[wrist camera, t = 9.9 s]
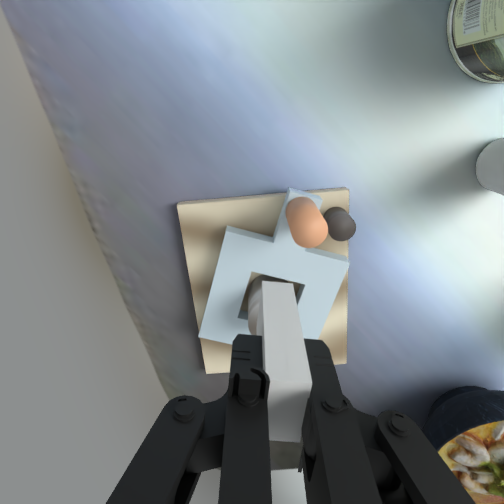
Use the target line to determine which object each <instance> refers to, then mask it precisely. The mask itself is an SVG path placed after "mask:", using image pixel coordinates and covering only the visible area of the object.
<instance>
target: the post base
mask: <svg viewBox="0 0 504 504" xmlns="http://www.w3.org/2000/svg"><path fill="white" fill-rule="evenodd" d="M304 192H307V193H311V194H315V195H318V196H320V197H321V198H322V200H323V202H322V204H321V207H320V210H319V211H320V213H321V214H322V216H323V218H324V219H325V221H326V223H327V225H328V234H327V237H326V239H325V240H324V241H323V242H322V243H321V244H320V245H318V246H316V247H313V248H317V249H321V250H325V251H328V252H332V253H336V254H340V255H344V256H346V257H347V259H348V239H350V238H351V237H352V236H353V235H354V233H355V230H356V224H355V222H354V220H353V219H352V218H351V217H350V215H349V190H348V189H347V188H346V187H343V188H331V189H320V190H308V191H304ZM286 194H287V192H286V193H274V194H263V195H251V196H240V197H229V198H217V199H206V200H195V201H183V202H179V203H178V204H177V209H178V215H179V221H180V226H181V232H182V238H183V244H184V249H185V255H186V261H187V266H188V272H189V278H190V284H191V289H192V295H193V301H194V306H195V312H196V318H197V324H198V329H199V331H200V327H201V323H202V319H203V316H204V312H205V308H206V304H207V300H208V296H209V293H210V289H211V285H212V281H213V277H214V274H215V270H216V266H217V262H218V258H219V254H220V251H221V247H222V243H223V239H224V235H225V231H226V228H227V225H228V226H232V227H235V228H239V229H243V230H247V231H251V232H255V233H259V234H263V235H266V236H270V237H273V235H274V231H275V228H276V225H277V222H278V219H279V216H280V213H281V209H282V206H283V203H284V200H285V197H286ZM262 281H270V282H281V283H293V287H294V292H295V297H296V296H297V293H298V290H299V287H300V285H301V283H297V282H293V281H289V280H285V279H281V278H277V277H272V276H268V275H264V274H260V273H256V272H252V271H251V275H250V278H249V281H248V285H247V288H246V291H245V294H244V298H243V301H242V304H241V308H240V310H242V311H247V312H248V328H249V331H250V333H251V335H257V319H258V311H259V303H260V295H261V287H262ZM347 292H348V269H347V271H346V274H345V276H344V279H343V281H342V283H341V286H340V288H339V291H338V293H337V295H336V298H335V300H334V302H333V305H332V307H331V310H330V312H329V314H328V317H327V319H326V322H325V324H324V326H323V329H322V331H321V334H320V336H319V338H318V340H323V342H324V343H325V344H326V345H327V346H328V347H329V349H330V353H331V356H332V360H333V363H334V365H335V364H346V355H347ZM200 341H201V346H202V352H203V358H204V364H205V369H206V374H211V373H224V372H230V364H231V353H232V344H227V343H223V342H218V341H214V340H209V339H205V338H200Z"/></svg>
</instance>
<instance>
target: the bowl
mask: <svg viewBox="0 0 504 504" xmlns="http://www.w3.org/2000/svg"><path fill="white" fill-rule="evenodd" d="M422 432H423V433H424V435H425V436H426V437H427V439H428V440H429V441H430V443H431V444H432V445H433V447H434V448H435V449H436V451H437V452H438V453H439V455H440V456H441V457H442V459H443V460H444V461H445V463H446V464H447V465H448V467H449V468H450V469H451V471H452V472H453V474H454V475H455V476H456V478H457V479H458V480H459V482H460V483H461V484H462V486H463V487H464V488H465V490H466V491H467V492H468V494H469V495H470V496H471V498H472V499H473V500H474V502H475V503H476V504H504V391H494V390H487V389H485V388H481V387H477V386H465V387H460V388H456V389H454V390H451V391H449V392H447V393H445V394H444V395H442V396H441V397H440V398H439V399H437V400H436V401H435V402H434V404H433V406H432V407H431V409H430V413H429V419H428V421H427V422H426V424H425V425H424V428H423V430H422Z"/></svg>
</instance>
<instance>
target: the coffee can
mask: <svg viewBox="0 0 504 504" xmlns="http://www.w3.org/2000/svg"><path fill="white" fill-rule="evenodd" d="M447 37H448V43H449V48H450V51H451V53H452V55H453V57H454V60H455V61H456V63H457V64H458V66H459V67H460V68H461V69H462V70H463V71H464V72H465V73H466V74H468V75H469V76H471V77H472V78H475V79H477V80H479V81H482V82H487V83H504V0H451V4H450V7H449V12H448V18H447Z"/></svg>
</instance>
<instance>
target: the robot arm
mask: <svg viewBox="0 0 504 504" xmlns="http://www.w3.org/2000/svg"><path fill="white" fill-rule="evenodd" d="M301 434H302V437H303V448H302V453H301V457H300V462H299V467H298V472H301V471H302V467H303V474H304V482H305V490H306V499H307V504H476V503H475V502H474V500H473V499H472V498H471V496H470V495H469V494H468V492H467V491H466V490H465V488H464V487H463V486H462V484H461V483H460V482H459V480H458V479H457V478H456V476H455V475H454V474H453V472H452V471H451V469H450V468H449V467H448V465H447V464H446V463H445V461H444V460H443V459H442V457H441V456H440V455H439V453H438V452H437V451H436V449H435V448H434V447H433V445H432V444H431V443H430V441H429V440H428V439H427V437H426V436H425V435H424V433H423V432H422V431H421V429H420V428H419V427H418V425H417V424H416V423H415V422H414V421H413V420H412V419H411V418H409V417H408V416H406V415H405V414H403V413H400V412H397V411H388V410H387V411H385V412H382V413H381V414H380V415H379V416H378V418H377V417H374V416H371V415H368V414H365V413H362V412H360V411H358V410H356V409H355V408H353V406H352V404H351V403H350V401H349V400H348V399H347V398H346V397H345V396H344V395H343V394H342V391H341V387H340V384H339V380H338V377H337V373H336V370H335V367H334V363H333V360H332V356H331V353H330V349H329V347H328V346H327V345H326V344H325V343H324V342H323V340H317V339H305V338H303V333H302V328H301V323H300V317H299V312H298V307H297V302H296V297H295V292H294V287H293V283H281V282H270V281H262V287H261V295H260V303H259V311H258V319H257V335H248V334H238V335H237V336H236V337H235V339H234V340H233V342H232V353H231V364H230V375H229V386H228V390H227V392H226V393H225V395H223V396H222V397H221V398H220V399H218V400H216V401H213V402H209V403H204V404H203V403H202V402H201V401H200V400H199V399H197V398H195V397H193V396H185V395H184V396H179V397H176V398H174V399H172V400H170V401H169V402H168V403H167V404H166V405H165V406H164V408H163V410H162V411H161V413H160V415H159V416H158V418H157V420H156V421H155V423H154V425H153V426H152V428H151V430H150V431H149V433H148V435H147V436H146V438H145V439H144V441H143V443H142V445H141V446H140V448H139V449H138V451H137V453H136V454H135V456H134V458H133V459H132V461H131V463H130V464H129V466H128V468H127V470H126V471H125V473H124V474H123V476H122V478H121V479H120V481H119V483H118V484H117V486H116V487H115V490H114V491H113V492H112V494H111V496H110V497H109V499H108V501H107V502H106V504H189V502H190V500H191V497H192V495H193V492H194V490H195V487H196V485H197V482H198V480H199V477H200V475H201V472H202V471H207V470H210V469H214V468H218V467H221V478H220V488H219V489H220V490H219V500H218V504H272V493H271V470H270V447H269V440H274V441H288V442H300V439H301Z"/></svg>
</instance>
